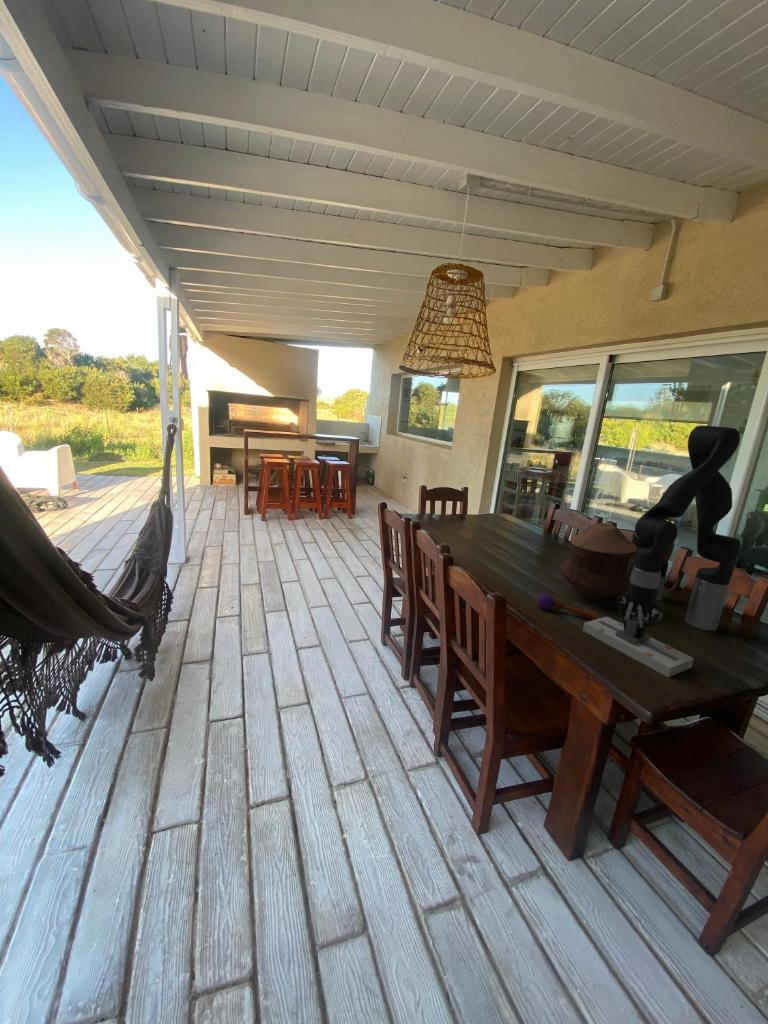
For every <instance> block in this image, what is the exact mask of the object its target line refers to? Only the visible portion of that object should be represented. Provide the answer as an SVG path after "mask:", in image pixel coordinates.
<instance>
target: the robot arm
mask: <svg viewBox="0 0 768 1024" xmlns="http://www.w3.org/2000/svg"><path fill="white" fill-rule="evenodd" d="M687 439H688V440H687V452H688V457H689V461H690V465H691V468H692V469H691V470H690V471H689V472H687V473H685V474H683V475H682V476H680V477H678V478H677V479H675V480H674V481H673V482H672V483H670V485H669V486H668V488H666V490H665V491H664V493H663V495H662V496H661V498H660V499H659V500H658V501H657V502H656V504H654V505H653V506H652V507H651V508H650V509H648V510H647V511H646V512H644V514H642V515H641V516H640V517H639V518H638V520H637V521H636V523H635V526H634V534H635V535H637V536H638V537H639V538H641V539H644V540H648V541H651V542H654V546H653V547H652V548H640V549H638V551H637V553H636V558H635V563H634V567H633V570H632V572H631V576H630V582H629V586H628V591H627V592H626V593H627V595H626V596H623V595H622V596H617V597H616V598H615V599H616V605H617V609H618V614H619V617H623V618H624V623H623V624H624V629H625V628H626V623H627V619H630V618H633V617H635V615H636V614H637V618H638V619H639V626H638V629H637V633H636V637H637V638H640V637H642V636H644V634H646V629H650V628H654V627H655V625H656V624H657V623H659V621H660V620H661V619H662V618H663V617H664V613H663V612H660V611H658V610H657V609H656V605H655V602H656V601H657V600H656V597H657V592H658V588H659V584H660V579H661V570H662V565H663V561H664V560H665V558H666V556H667V554H668V552H669V551H670V549H671V547H672V546H673V544H674V542H675V541H676V540H677V538H678V533H679V532H678V527H677V525H676V524H675V523H674V522H672V521H669V520H667V519H677V518H681V517H682V516H683V515H684V514H685V512H686V511H687V509H688V508H689V506H690V505H691V504H692V502H693V501H694V500H695V508H696V517H697V518H696V519H697V536H696V552H697V553H698V555H699V556H700V557H701V558H703V559H706V560H710V561H713V562H718V563H719V564H718V566H717V567H700V568H698V569H697V571H696V574H695V578H694V582H693V586H692V590H691V594H690V599H689V603H688V606H687V611H686V615H685V619H684V622H686V623H687V624H688V625H690V626H691V627H694V628H696V629H699V630H703V631H709V632H715V631H717V630H718V628H719V627H718V626H719V624H720V619H721V616H722V613H723V608H724V606H725V605H724V604H725V601H726V598H727V593H728V589H729V586H730V582H731V579H732V577H733V573H734V571H735V566H736V564H737V561H738V558H739V557H740V556H739V555H740V553H741V550H742V549H741V548H742V545H741V543H742V542H741V541H740V539H739V538H736V537H731V536H727V535H724V534H718V533H716V532H714V527H715V526H716V525H717V524H718V523H720V521H721V520H723V519H724V518H725V517H726V516H727V515H728V514H729V513H730V512H731V510H732V508H733V491H732V488H731V485H730V483H729V482H728V481H727V479H726V478H725V477H724V475H722V473H721V472H720V470H721V468H722V467H724V465H725V464H726V463H727V462H728V461H729V460H730V459H731V457H733V455H734V454H735V452H736V451H737V449H738V447H739V445H740V441H741V433H740V432H739V430H738V429H737V428H734V427H727V426H715V425H698V426H696V427H694V428H693V429H692V430H691V432H690V433H689V435H688V438H687ZM650 613H651V618H650V619H649V617H650ZM624 631H625V630H624Z"/></svg>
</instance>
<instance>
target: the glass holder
mask: <svg viewBox="0 0 768 1024" xmlns="http://www.w3.org/2000/svg"><path fill="white" fill-rule="evenodd" d="M668 568H669V563H668V562H667V561H663V565H662V570H661V579H660V584H659V588H658V592H657V597H656V600H655V601H657V600H658V601H662V600H663V594H665V593H668V592H671V591H673V590H674V589H675V588H676V587H677V585H678V583H679V578H680V576H679V574H678V572H676V571H672V570H670V571H668ZM671 573H674V574H675V576H676V581H675V583H674V585H673V586H672V587H671V588H669V589H667V590H665V591H664V588H665V584H666V580H668V579H669V577H670V574H671Z"/></svg>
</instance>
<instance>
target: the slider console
mask: <svg viewBox="0 0 768 1024" xmlns="http://www.w3.org/2000/svg"><path fill="white" fill-rule="evenodd" d="M621 630H624V623H623V622H620V621H617V620H615V619H613V618H611V617H610V616H604V617H601V618H596V620H589V621H585V622H584V623H583V627H582V632H584V631H585V632H584V633H586V634H588V635H589V634H590V635H589V636H591V635H592V637H594V638H595V639H597V640H599V641H600V640H601V642H602V641H603V642H602V643H603V644H606V645H608V646H609V647H612V648H613V649H615V650H617V651H619V652H621V653H623V654H624V655H626V656H628V657H630V658H632V659H633V660H635V661H637V662H640V663H641V664H643V665H645V666H646V667H648V668H650V669H652V670H654V671H656V672H657V673H659V674H661V675H663V676H664V677H667V678H670V677H673V676H675V675H677V674H679V673H680V674H681V672H684V671H686V670H689V669H691V668H692V667H693V663H694V657H693V656H690V655H688V654H685V653H684V652H682V651H679V650H678V649H675V648H674V647H673V646H671V645H669V644H665V643H663V642H661V641H659V640H657V639H655V638H652V637H651V636H650V639H649V640H646V641H643V642H640V643H637V644H635V645H634V644H632V643H630V642H628V641H626V640H624V639H622V638H620V637H618V636H616V635H615V634H616V632H618V631H621Z"/></svg>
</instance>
